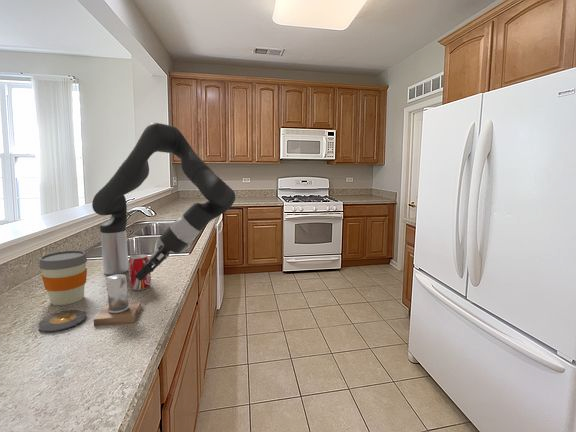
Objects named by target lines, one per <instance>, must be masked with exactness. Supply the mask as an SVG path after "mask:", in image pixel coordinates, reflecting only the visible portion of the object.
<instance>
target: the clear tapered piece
mask: <svg viewBox="0 0 576 432" xmlns="http://www.w3.org/2000/svg"><path fill="white" fill-rule="evenodd" d="M106 290H107V304H109V308H108V312H109V313H110V314H119V313H123V312H126V311H127V310H128V309H129V305H128V302H129V298H128V283H127V275H126V274H124V273H120V274H114V275H110V276H107V277H106Z"/></svg>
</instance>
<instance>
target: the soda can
mask: <svg viewBox="0 0 576 432" xmlns="http://www.w3.org/2000/svg"><path fill="white" fill-rule="evenodd" d="M149 258H150V257H148V254H147V253H135V254H132V255H130V256H129V258H128V283H129V287H130V289H131V290H134V291H139V292H140V291H143V290H147V289H149V287H151V286H152V277H151V276H152V275H151V273H152V272H149V273H148V274H147V275H146V276H145V277H144V278H143V279H142V280H141V281H140V280H138V279H137V278H136V277H135V275H136V274H137V273H138V272H139V271H140V270H141V269H142V266H143V264H144V263H145V262H146V261H147V260H148V259H149Z"/></svg>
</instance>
